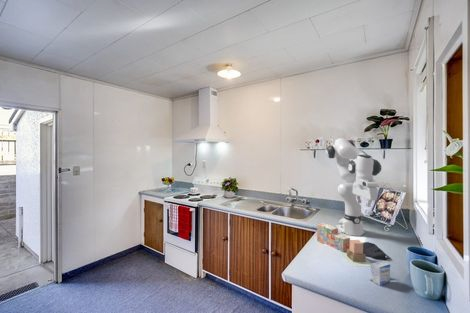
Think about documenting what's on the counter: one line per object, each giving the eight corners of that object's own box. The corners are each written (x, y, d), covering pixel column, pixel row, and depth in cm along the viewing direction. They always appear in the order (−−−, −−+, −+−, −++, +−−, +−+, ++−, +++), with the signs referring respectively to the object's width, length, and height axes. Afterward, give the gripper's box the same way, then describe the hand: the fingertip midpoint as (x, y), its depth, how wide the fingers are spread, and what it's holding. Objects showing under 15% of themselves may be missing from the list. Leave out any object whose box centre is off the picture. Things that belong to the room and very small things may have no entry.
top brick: (349, 249, 128) (349, 239, 128) (358, 250, 128) (358, 239, 128) (354, 253, 123) (354, 243, 123) (362, 254, 123) (363, 243, 123)
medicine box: (379, 285, 102) (380, 267, 102) (370, 280, 106) (370, 263, 106) (390, 282, 106) (390, 264, 105) (380, 277, 110) (381, 260, 109)
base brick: (346, 255, 130) (347, 249, 129) (358, 256, 129) (358, 249, 129) (353, 261, 123) (353, 254, 122) (365, 262, 122) (365, 254, 122)
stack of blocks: (349, 252, 137) (350, 232, 136) (342, 254, 134) (343, 234, 134) (323, 239, 156) (323, 222, 156) (316, 241, 153) (316, 223, 153)
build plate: (339, 253, 134) (339, 252, 134) (358, 254, 134) (358, 252, 134) (352, 267, 118) (352, 265, 118) (375, 268, 118) (375, 266, 118)
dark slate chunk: (378, 247, 145) (378, 240, 145) (394, 264, 123) (394, 255, 123) (352, 244, 148) (353, 238, 148) (364, 260, 127) (364, 252, 127)
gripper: (349, 179, 141) (349, 200, 142) (368, 184, 121) (368, 209, 121) (359, 179, 141) (359, 200, 141) (380, 184, 121) (379, 209, 121)
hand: (363, 204), depth 131 cm, fingers open, 8 cm apart
